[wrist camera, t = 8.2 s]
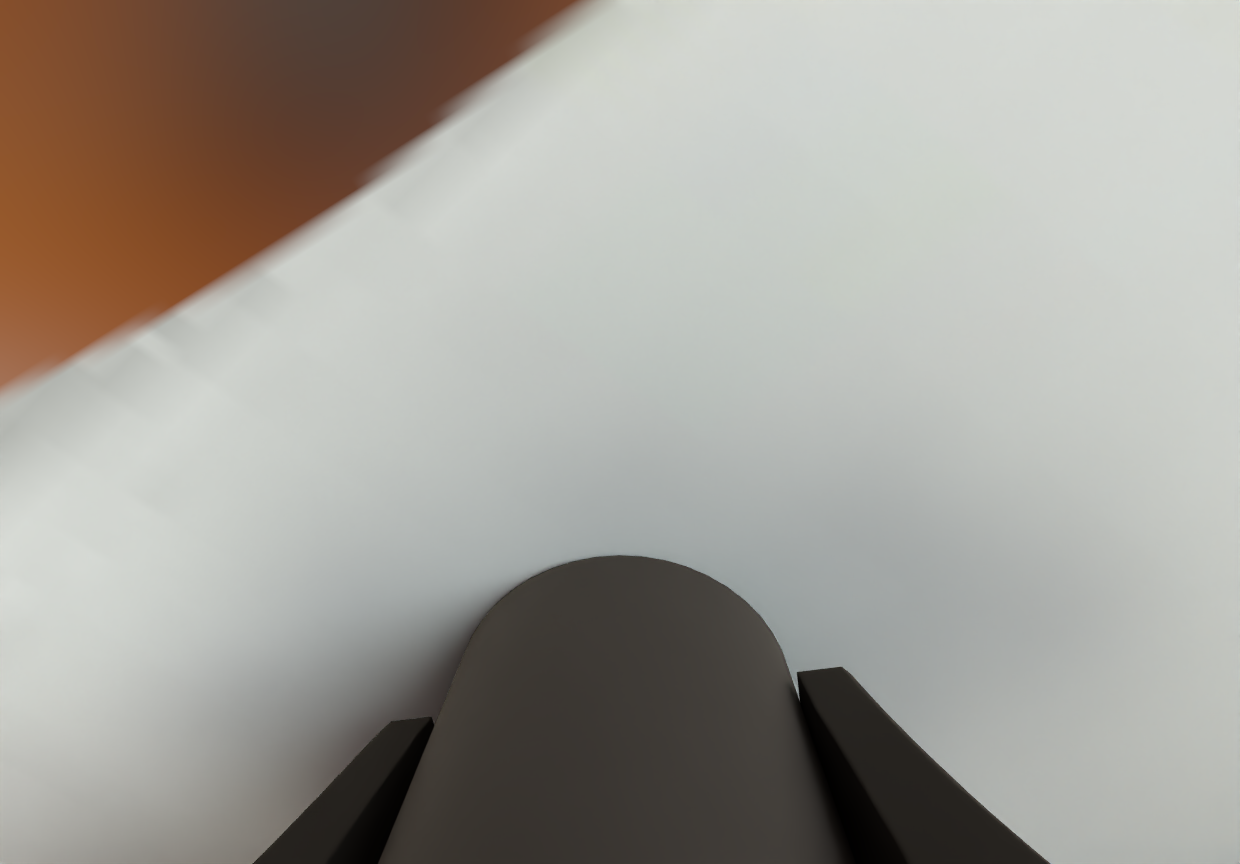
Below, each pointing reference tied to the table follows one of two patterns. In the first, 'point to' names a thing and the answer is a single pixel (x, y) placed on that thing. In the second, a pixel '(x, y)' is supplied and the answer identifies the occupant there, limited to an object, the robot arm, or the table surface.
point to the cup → (620, 733)
